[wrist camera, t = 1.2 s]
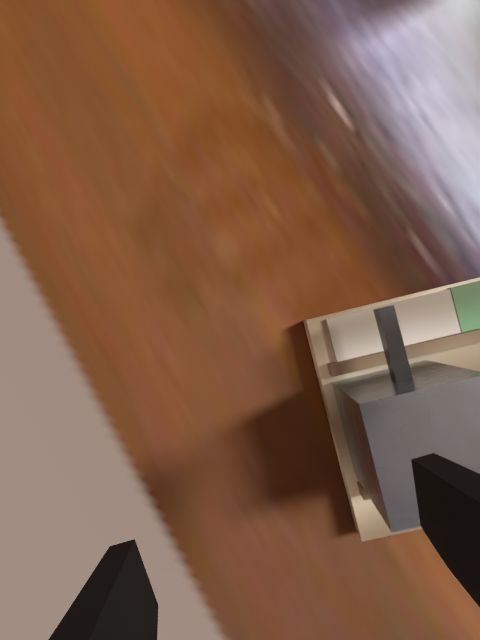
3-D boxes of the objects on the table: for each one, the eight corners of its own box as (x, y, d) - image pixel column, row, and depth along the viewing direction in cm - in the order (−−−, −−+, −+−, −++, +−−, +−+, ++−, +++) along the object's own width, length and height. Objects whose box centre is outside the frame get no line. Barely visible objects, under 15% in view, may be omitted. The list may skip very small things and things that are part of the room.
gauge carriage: (450, 454, 18) (524, 504, 13) (355, 475, 18) (391, 532, 13) (409, 298, 18) (467, 288, 13) (316, 321, 18) (338, 320, 13)
